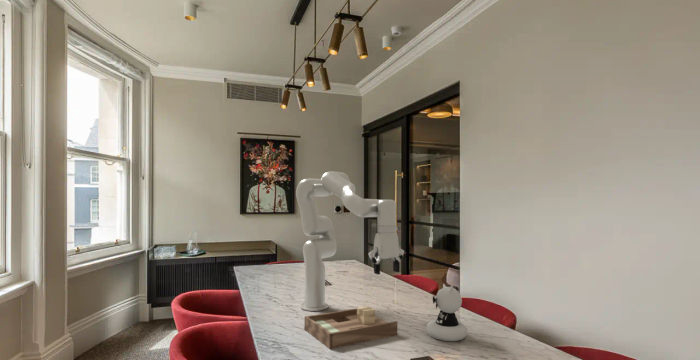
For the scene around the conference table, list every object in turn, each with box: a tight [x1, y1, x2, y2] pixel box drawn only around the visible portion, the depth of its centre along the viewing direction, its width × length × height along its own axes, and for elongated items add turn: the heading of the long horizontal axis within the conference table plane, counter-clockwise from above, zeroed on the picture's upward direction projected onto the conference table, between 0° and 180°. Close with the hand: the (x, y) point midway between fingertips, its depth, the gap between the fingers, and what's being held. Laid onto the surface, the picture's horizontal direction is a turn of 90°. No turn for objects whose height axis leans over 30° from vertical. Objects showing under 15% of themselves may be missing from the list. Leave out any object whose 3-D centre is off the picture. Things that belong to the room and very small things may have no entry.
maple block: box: [356, 306, 376, 324], centre depth 150 cm, size 5×5×5 cm
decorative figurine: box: [426, 283, 468, 342], centre depth 144 cm, size 15×15×20 cm
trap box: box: [303, 308, 398, 350], centre depth 146 cm, size 22×28×5 cm
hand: (386, 272), depth 156 cm, fingers open, 9 cm apart
